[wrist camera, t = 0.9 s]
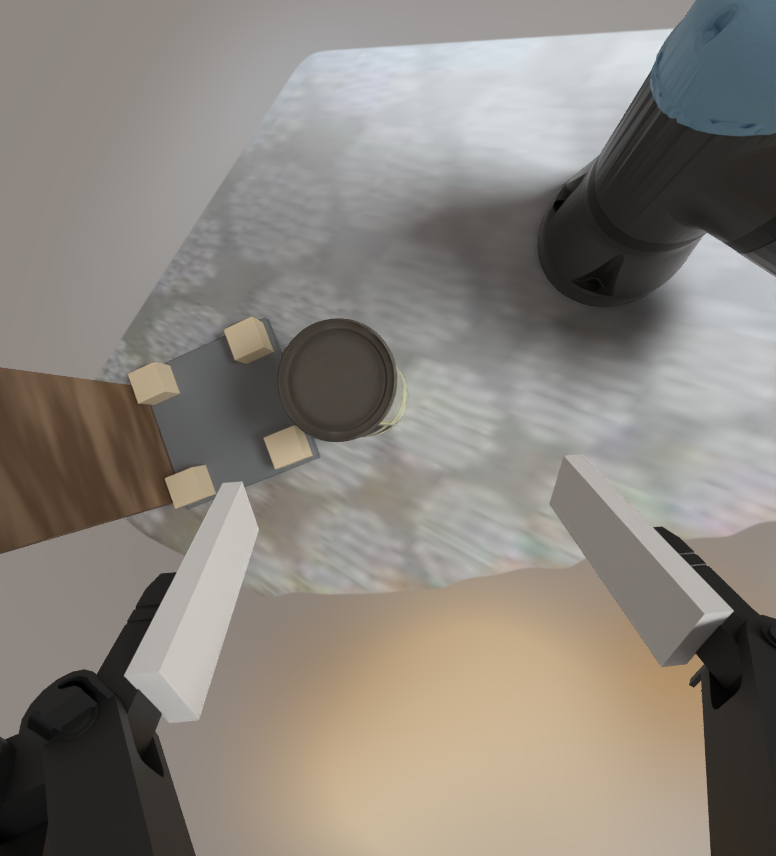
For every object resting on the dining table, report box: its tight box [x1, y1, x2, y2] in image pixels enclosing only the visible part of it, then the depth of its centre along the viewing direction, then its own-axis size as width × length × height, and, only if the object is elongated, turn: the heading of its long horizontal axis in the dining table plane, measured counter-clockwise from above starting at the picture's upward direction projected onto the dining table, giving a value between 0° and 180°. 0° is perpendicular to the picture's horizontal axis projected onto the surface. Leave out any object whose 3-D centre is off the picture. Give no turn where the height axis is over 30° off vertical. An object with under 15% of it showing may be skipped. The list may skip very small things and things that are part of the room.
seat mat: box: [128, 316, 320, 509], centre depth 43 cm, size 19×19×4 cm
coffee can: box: [277, 319, 408, 442], centre depth 35 cm, size 10×10×14 cm
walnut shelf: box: [0, 368, 175, 554], centre depth 26 cm, size 13×16×38 cm
